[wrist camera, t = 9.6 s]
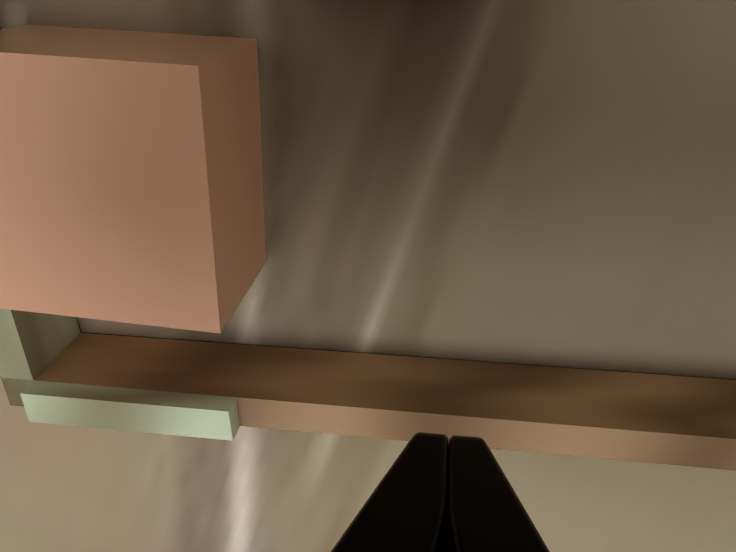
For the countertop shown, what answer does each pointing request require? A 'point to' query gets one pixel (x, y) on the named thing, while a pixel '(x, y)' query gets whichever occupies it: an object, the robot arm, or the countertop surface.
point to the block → (129, 175)
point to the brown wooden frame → (358, 395)
